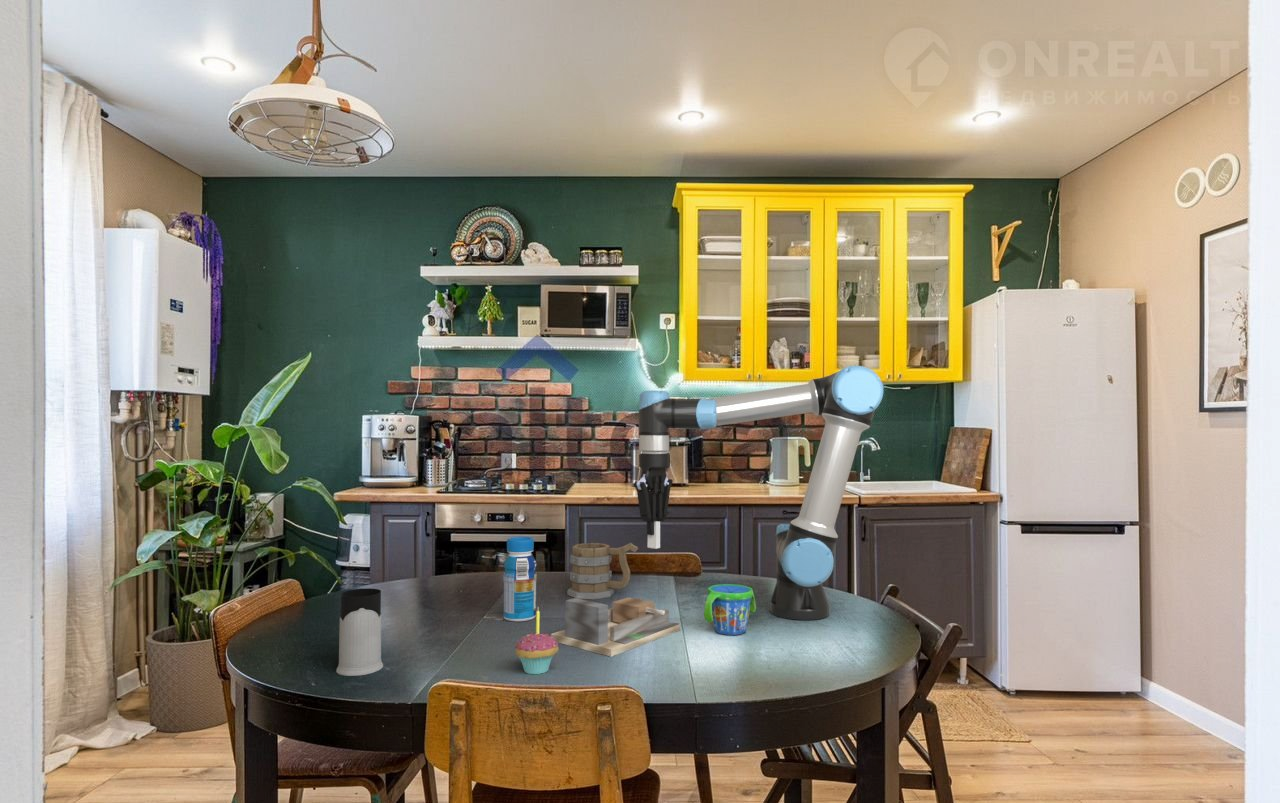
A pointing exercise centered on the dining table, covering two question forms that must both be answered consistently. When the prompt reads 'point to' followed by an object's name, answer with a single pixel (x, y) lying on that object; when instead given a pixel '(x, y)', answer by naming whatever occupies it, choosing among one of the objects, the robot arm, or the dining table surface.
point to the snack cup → (729, 608)
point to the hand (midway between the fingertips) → (653, 547)
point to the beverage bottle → (520, 580)
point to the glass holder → (360, 632)
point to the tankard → (596, 570)
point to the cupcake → (536, 650)
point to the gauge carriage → (632, 609)
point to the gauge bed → (609, 628)
